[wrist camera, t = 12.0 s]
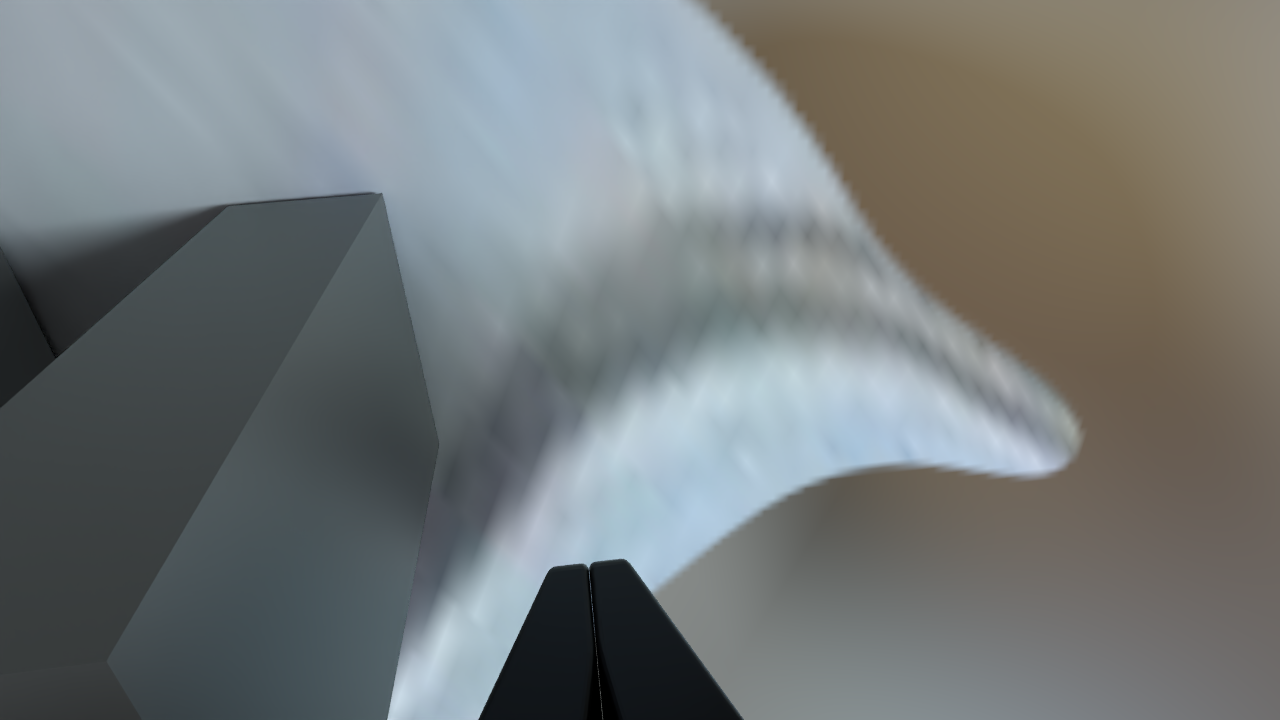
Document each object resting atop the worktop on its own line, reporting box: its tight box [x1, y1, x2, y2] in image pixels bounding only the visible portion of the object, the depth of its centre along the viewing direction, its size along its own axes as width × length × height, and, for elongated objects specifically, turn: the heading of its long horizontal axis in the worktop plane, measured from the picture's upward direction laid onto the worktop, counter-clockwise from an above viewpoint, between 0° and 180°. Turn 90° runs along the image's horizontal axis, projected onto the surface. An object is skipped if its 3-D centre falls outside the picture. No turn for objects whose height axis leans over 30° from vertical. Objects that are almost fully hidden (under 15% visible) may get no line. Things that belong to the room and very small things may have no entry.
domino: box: [0, 193, 439, 720], centre depth 9 cm, size 2×5×9 cm, turn 3°
